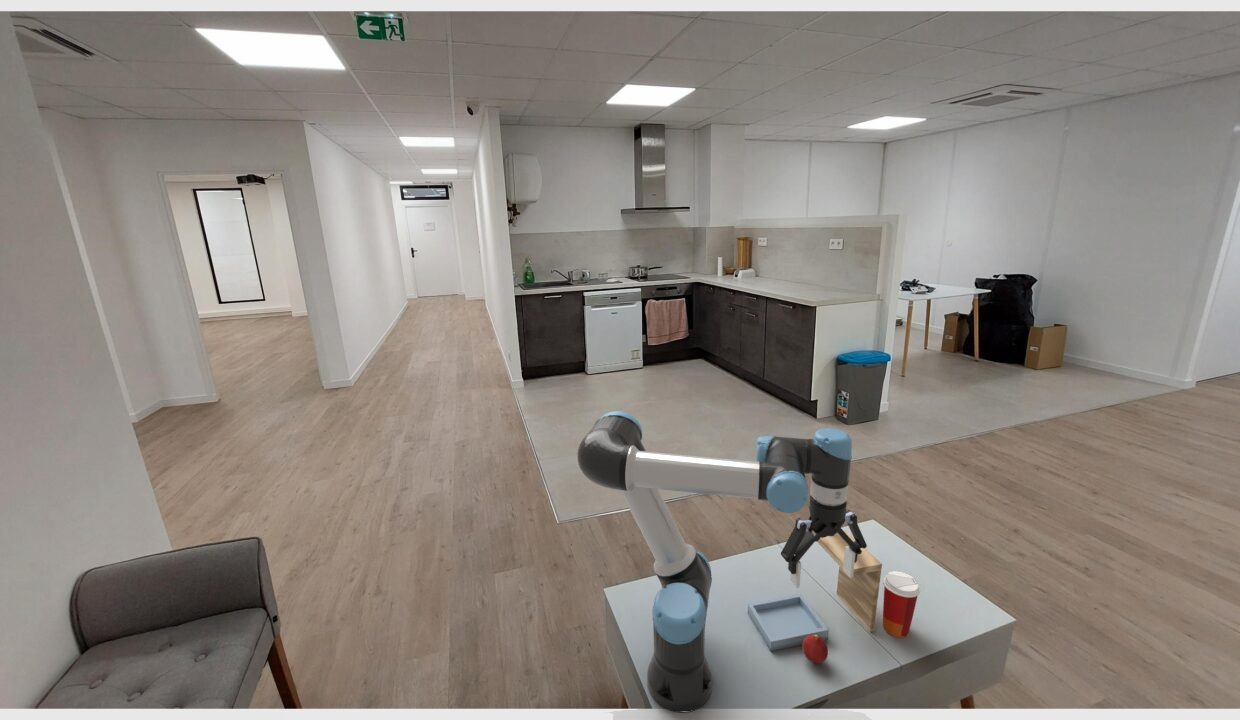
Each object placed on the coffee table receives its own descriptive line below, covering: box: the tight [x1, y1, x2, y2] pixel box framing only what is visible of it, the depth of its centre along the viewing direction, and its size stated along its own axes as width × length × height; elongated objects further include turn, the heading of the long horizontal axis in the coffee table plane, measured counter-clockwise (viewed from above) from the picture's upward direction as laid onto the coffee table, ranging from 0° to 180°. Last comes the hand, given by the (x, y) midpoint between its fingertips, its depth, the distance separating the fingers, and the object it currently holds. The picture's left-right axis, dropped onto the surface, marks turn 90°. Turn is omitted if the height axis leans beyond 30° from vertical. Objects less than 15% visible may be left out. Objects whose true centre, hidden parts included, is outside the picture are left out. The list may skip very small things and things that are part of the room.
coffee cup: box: [882, 570, 921, 639], centre depth 125 cm, size 8×8×15 cm
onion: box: [801, 635, 829, 664], centre depth 118 cm, size 6×6×8 cm
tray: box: [747, 593, 829, 652], centre depth 129 cm, size 16×13×3 cm
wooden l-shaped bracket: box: [816, 530, 883, 633], centre depth 130 cm, size 9×14×21 cm, turn 11°
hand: (821, 578), depth 113 cm, fingers open, 13 cm apart
